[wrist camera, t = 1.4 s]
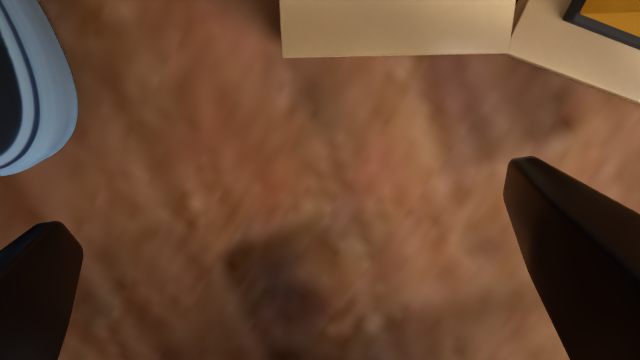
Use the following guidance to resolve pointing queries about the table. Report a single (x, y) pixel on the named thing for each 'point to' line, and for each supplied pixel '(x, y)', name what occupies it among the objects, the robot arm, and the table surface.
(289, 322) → the table surface
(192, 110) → the table surface
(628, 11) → the rain boot
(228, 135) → the table surface
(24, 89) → the shoe
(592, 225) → the robot arm
